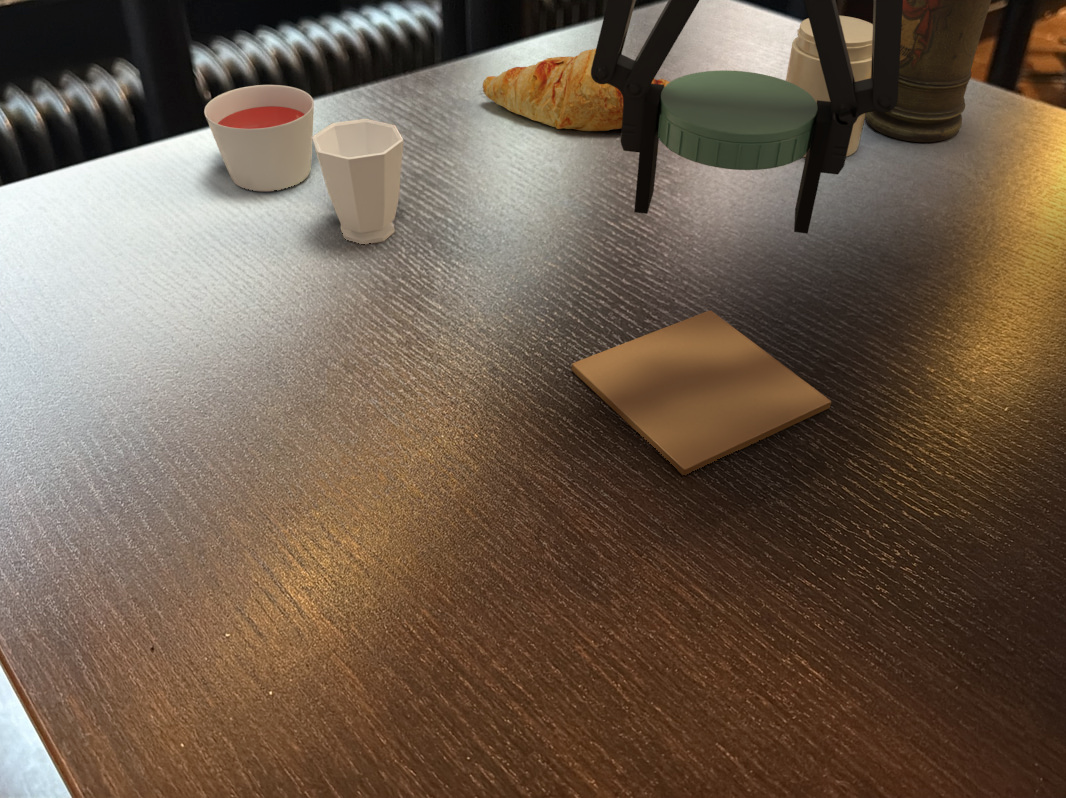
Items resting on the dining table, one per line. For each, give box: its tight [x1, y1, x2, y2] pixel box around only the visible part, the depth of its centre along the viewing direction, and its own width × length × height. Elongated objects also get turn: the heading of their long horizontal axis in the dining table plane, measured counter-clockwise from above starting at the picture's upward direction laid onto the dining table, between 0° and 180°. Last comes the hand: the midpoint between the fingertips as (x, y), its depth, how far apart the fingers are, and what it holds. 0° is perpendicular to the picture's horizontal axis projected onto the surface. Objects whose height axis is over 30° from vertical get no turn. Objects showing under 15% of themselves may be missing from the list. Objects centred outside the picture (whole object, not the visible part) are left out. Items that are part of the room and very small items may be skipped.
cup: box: [312, 118, 404, 245], centre depth 79 cm, size 7×10×8 cm
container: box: [865, 0, 992, 143], centre depth 92 cm, size 9×9×18 cm
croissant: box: [482, 46, 671, 132], centre depth 96 cm, size 21×10×8 cm, turn 78°
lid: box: [657, 69, 818, 171], centre depth 54 cm, size 8×8×2 cm
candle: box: [203, 84, 315, 192], centre depth 86 cm, size 9×9×6 cm
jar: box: [785, 15, 873, 158], centre depth 91 cm, size 8×8×11 cm
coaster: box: [570, 309, 832, 476], centre depth 65 cm, size 12×12×1 cm
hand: (721, 210), depth 57 cm, fingers closed on lid, 8 cm apart
